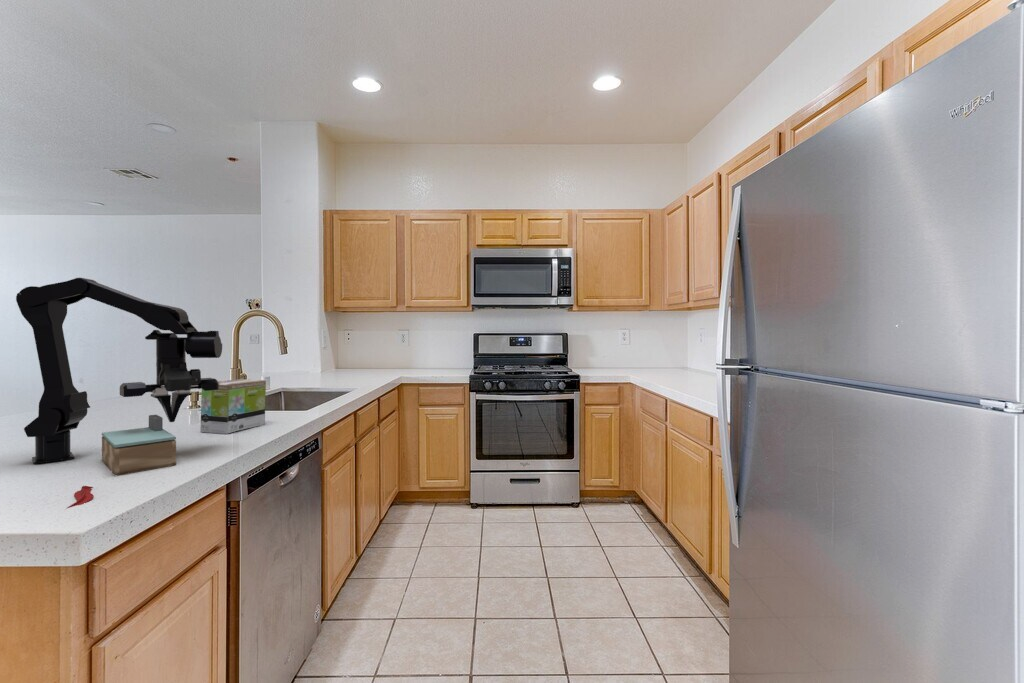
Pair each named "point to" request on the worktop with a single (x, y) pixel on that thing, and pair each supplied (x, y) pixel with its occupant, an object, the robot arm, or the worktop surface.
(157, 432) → the lid
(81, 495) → the cayenne pepper
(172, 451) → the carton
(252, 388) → the tea box
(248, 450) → the worktop surface
